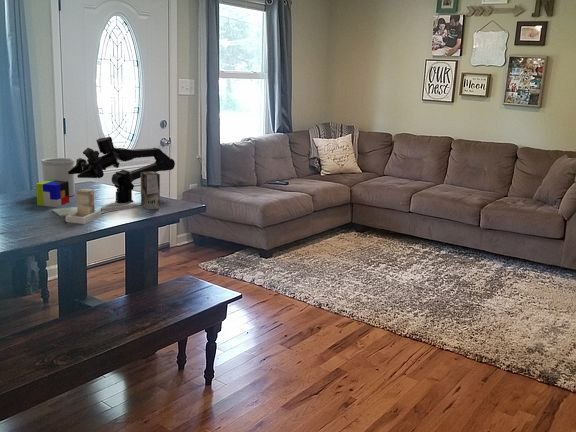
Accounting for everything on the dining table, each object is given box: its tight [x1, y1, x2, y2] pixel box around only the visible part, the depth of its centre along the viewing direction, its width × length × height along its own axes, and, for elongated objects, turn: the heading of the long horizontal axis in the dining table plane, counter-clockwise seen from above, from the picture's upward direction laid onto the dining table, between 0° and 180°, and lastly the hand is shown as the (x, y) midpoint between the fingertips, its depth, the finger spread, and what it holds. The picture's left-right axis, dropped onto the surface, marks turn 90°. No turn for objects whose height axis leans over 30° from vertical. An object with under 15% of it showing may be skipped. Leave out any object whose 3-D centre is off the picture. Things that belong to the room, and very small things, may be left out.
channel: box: [64, 210, 102, 225], centre depth 249 cm, size 13×8×2 cm, turn 168°
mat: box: [51, 206, 77, 217], centre depth 260 cm, size 11×11×1 cm
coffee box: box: [140, 171, 161, 210], centre depth 273 cm, size 9×6×16 cm
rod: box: [100, 204, 133, 212], centre depth 268 cm, size 14×2×2 cm, turn 127°
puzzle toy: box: [35, 180, 70, 208], centre depth 272 cm, size 10×10×10 cm
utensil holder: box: [40, 157, 76, 198], centre depth 289 cm, size 15×15×18 cm
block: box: [76, 188, 96, 217], centre depth 250 cm, size 5×5×12 cm
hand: (72, 174), depth 263 cm, fingers open, 9 cm apart
